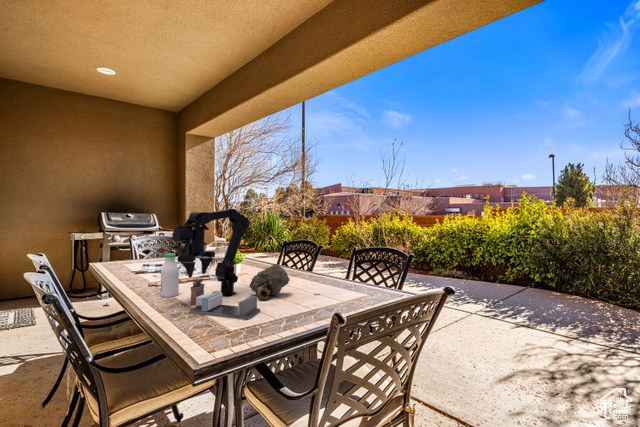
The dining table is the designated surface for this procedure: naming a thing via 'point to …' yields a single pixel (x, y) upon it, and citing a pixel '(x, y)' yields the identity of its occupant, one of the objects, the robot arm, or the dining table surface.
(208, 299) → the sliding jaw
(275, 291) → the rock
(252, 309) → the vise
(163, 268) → the milk bottle
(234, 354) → the dining table surface
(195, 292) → the lighter
